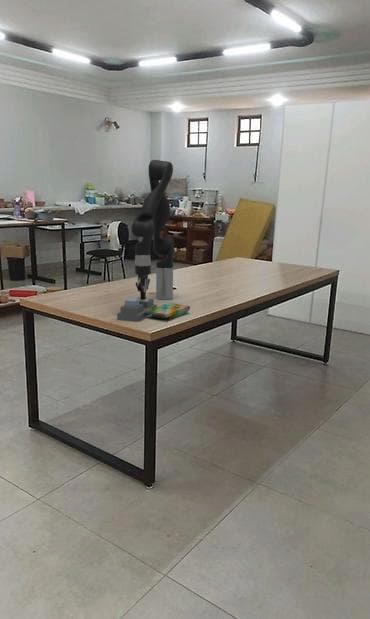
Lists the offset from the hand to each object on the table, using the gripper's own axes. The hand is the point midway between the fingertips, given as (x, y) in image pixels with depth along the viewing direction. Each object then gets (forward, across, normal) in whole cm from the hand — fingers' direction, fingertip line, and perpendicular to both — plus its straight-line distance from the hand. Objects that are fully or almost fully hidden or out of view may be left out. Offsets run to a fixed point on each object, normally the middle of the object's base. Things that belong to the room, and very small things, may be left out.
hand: (143, 299), depth 230 cm
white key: (+3, 0, 0) cm, 3 cm away
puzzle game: (+7, +2, +14) cm, 16 cm away
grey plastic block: (+6, +6, 0) cm, 9 cm away
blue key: (0, +13, 0) cm, 13 cm away
